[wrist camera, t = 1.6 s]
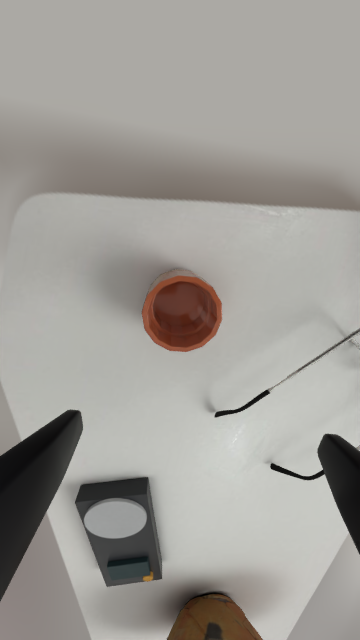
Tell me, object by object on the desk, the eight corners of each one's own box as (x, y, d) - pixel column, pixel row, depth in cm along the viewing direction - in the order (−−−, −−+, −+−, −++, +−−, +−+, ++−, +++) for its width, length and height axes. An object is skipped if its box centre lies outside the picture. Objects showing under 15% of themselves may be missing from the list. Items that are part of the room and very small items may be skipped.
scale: (80, 484, 27) (72, 508, 25) (148, 477, 28) (146, 499, 25) (109, 568, 35) (105, 593, 33) (162, 561, 36) (162, 584, 33)
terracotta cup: (139, 320, 20) (132, 340, 16) (158, 258, 18) (156, 263, 14) (196, 337, 21) (204, 360, 17) (219, 281, 19) (235, 291, 15)
